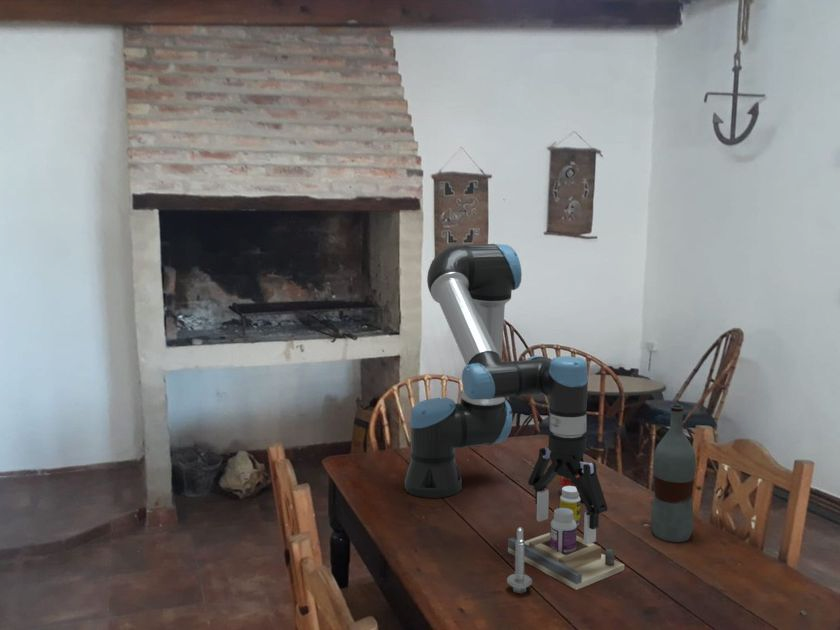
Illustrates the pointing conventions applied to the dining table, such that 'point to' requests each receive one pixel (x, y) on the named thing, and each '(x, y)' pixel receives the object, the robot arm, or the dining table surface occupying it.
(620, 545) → the dining table surface
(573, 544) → the pill bottle
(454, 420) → the robot arm
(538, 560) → the jig
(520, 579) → the screw
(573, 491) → the supplement bottle
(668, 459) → the vodka
